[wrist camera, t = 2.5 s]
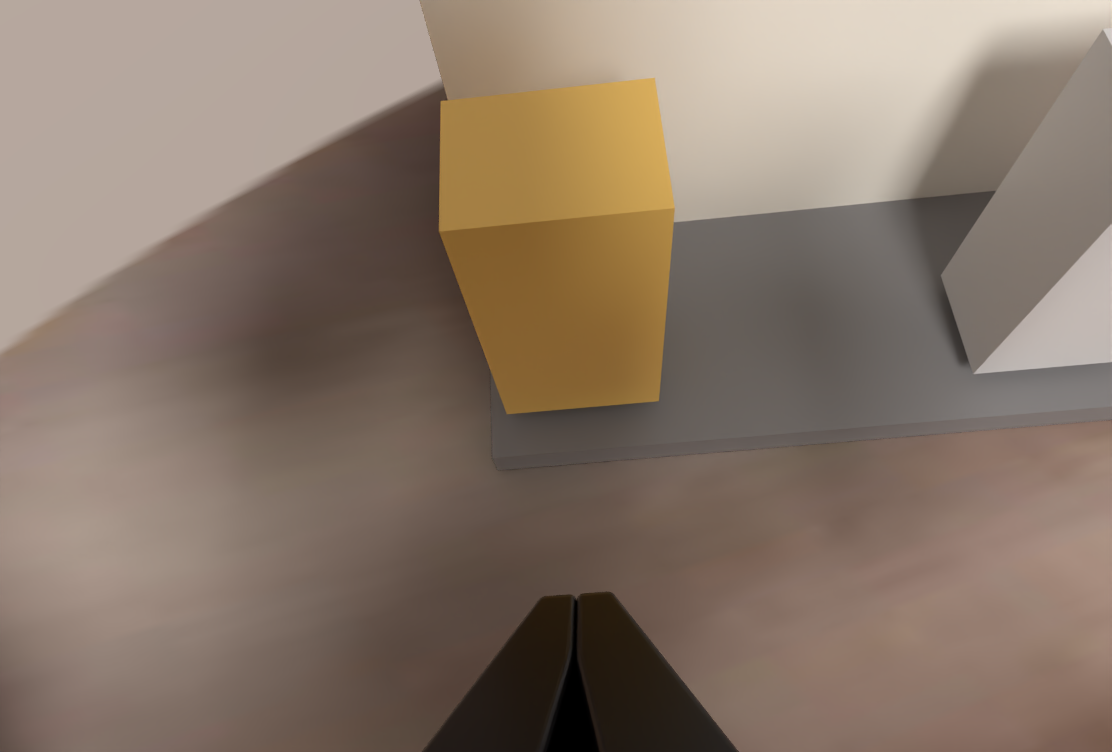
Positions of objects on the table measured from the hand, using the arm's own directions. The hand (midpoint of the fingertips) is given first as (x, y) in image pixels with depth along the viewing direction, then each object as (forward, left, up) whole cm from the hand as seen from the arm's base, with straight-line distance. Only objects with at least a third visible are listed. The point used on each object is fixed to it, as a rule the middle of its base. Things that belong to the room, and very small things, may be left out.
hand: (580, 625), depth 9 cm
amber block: (+8, -3, -9) cm, 12 cm away
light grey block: (+4, -14, -9) cm, 17 cm away
